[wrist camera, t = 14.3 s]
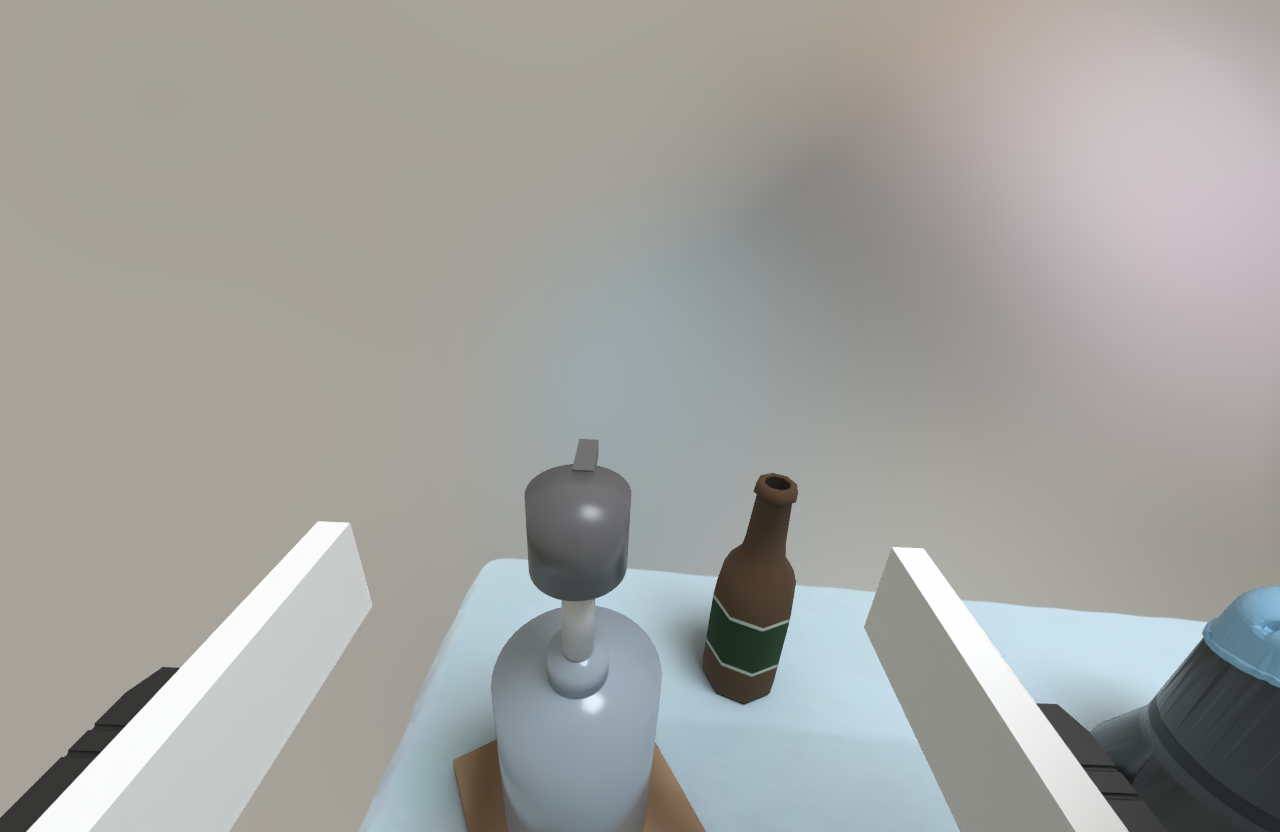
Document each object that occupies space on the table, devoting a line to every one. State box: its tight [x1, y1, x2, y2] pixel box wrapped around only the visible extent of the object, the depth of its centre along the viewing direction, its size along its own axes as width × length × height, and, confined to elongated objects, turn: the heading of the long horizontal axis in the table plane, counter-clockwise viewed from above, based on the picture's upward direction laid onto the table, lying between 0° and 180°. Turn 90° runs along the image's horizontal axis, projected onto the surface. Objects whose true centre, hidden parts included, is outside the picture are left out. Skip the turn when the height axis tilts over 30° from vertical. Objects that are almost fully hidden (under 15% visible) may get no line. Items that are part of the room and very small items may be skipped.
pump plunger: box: [525, 439, 631, 661], centre depth 30 cm, size 6×8×12 cm
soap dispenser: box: [491, 606, 662, 832], centre depth 36 cm, size 11×11×18 cm
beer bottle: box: [702, 473, 798, 704], centre depth 47 cm, size 8×8×24 cm
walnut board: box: [453, 740, 706, 832], centre depth 40 cm, size 16×16×1 cm
